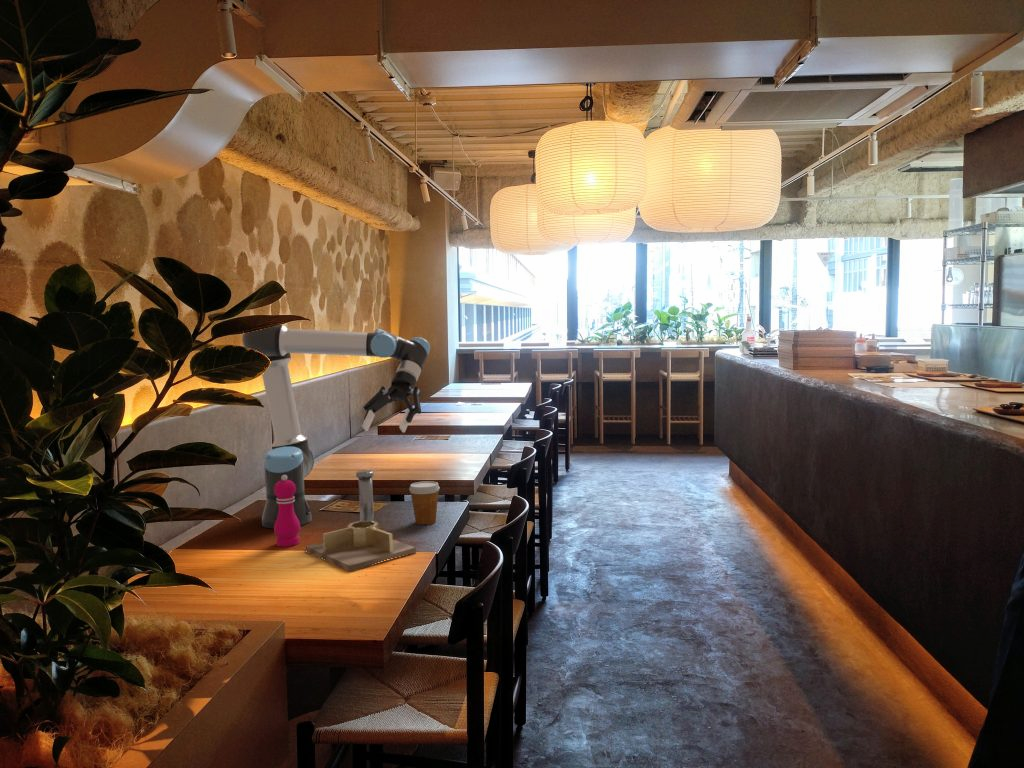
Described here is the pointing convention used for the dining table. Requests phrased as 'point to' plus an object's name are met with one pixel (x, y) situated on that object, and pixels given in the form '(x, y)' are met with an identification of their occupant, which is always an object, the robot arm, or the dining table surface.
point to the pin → (366, 495)
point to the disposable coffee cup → (424, 501)
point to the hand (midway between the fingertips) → (383, 429)
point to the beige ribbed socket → (358, 537)
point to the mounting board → (359, 554)
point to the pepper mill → (286, 514)
